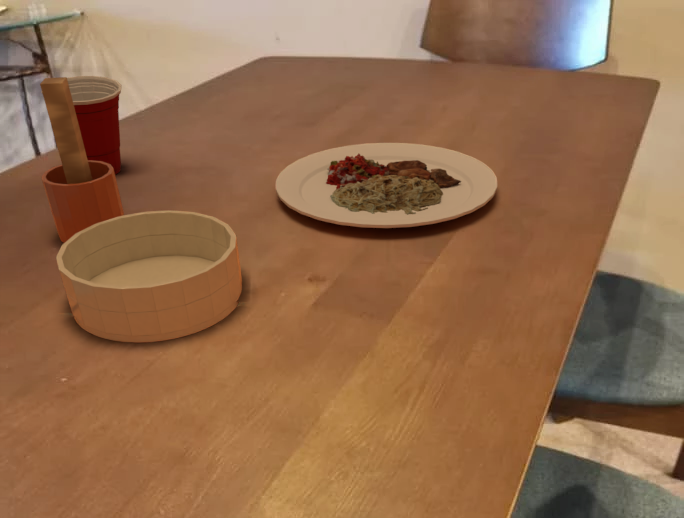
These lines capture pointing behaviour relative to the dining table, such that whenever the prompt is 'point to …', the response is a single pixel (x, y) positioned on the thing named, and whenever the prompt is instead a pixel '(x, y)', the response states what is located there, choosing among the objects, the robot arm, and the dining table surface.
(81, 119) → the plastic cup
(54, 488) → the dining table surface
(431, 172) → the plated food
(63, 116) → the wooden stirring stick
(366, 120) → the dining table surface
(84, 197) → the crock
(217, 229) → the bowl
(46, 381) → the dining table surface
